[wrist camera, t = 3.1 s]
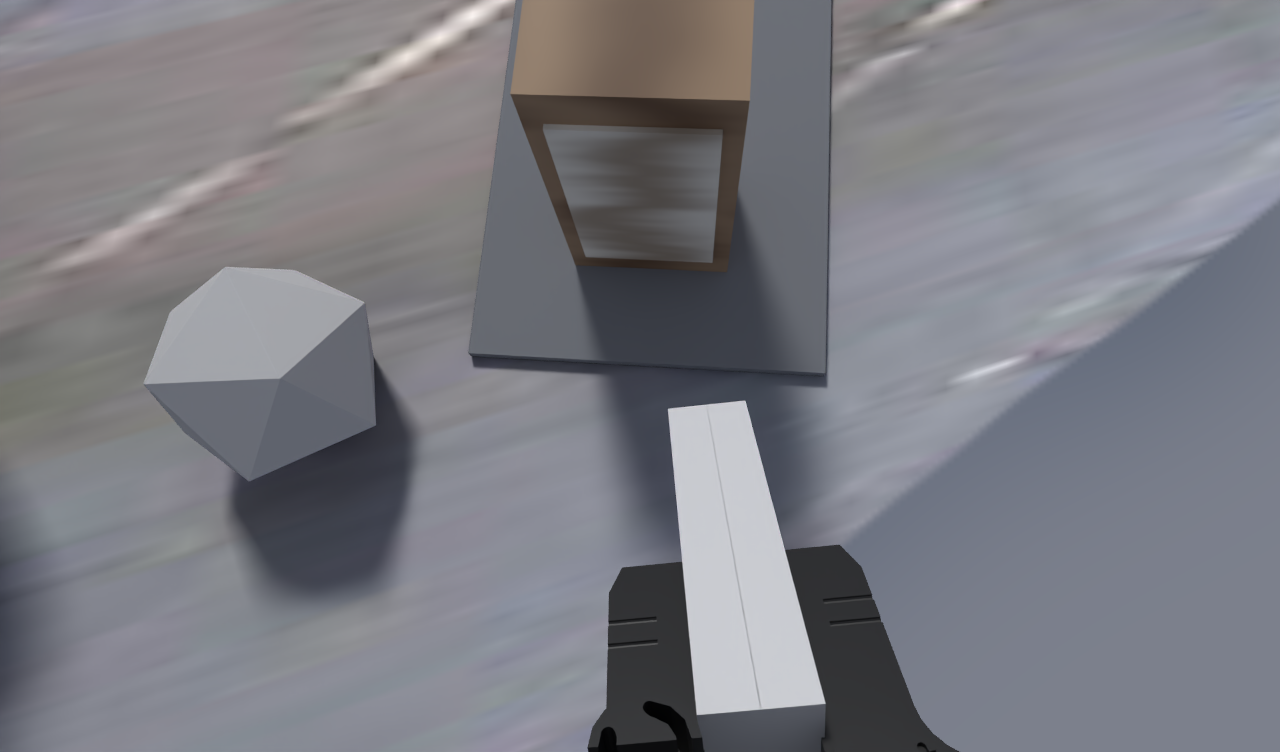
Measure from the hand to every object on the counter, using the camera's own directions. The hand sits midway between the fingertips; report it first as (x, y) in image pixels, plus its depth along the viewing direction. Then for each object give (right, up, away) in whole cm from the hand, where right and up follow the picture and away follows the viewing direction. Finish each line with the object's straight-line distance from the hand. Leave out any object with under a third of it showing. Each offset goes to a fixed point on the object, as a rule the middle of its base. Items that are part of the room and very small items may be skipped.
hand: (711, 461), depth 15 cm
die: (-16, +1, +20) cm, 26 cm away
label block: (-1, +9, +20) cm, 22 cm away
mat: (0, +14, +22) cm, 26 cm away
